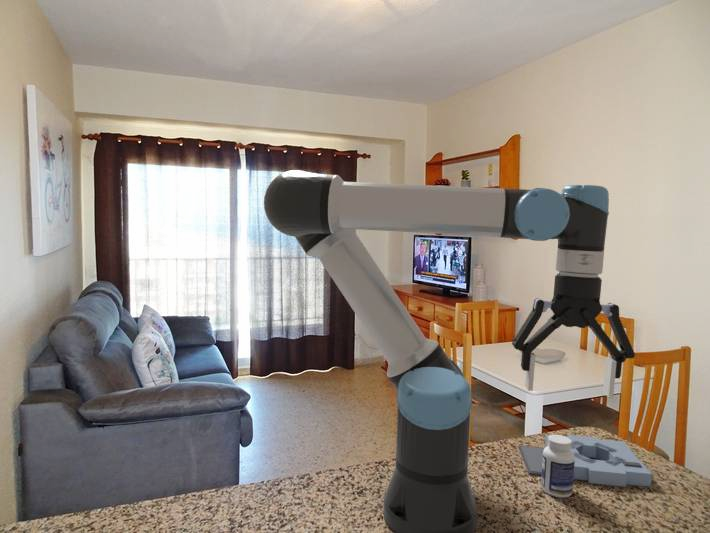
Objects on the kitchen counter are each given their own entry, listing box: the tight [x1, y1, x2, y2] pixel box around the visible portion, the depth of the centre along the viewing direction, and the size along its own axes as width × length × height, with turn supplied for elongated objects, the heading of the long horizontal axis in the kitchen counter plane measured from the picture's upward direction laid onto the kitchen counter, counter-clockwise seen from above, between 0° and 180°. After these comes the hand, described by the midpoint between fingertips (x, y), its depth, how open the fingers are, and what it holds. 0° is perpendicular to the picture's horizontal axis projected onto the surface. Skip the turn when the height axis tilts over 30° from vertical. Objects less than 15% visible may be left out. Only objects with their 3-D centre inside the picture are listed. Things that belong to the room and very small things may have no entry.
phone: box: [517, 444, 545, 477], centre depth 101 cm, size 12×6×1 cm, turn 171°
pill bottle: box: [540, 434, 575, 499], centre depth 89 cm, size 5×5×10 cm
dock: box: [544, 434, 653, 488], centre depth 100 cm, size 16×16×3 cm
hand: (567, 391), depth 88 cm, fingers open, 13 cm apart
